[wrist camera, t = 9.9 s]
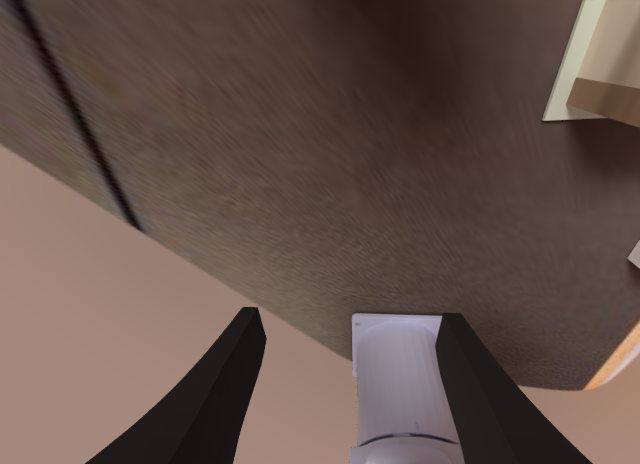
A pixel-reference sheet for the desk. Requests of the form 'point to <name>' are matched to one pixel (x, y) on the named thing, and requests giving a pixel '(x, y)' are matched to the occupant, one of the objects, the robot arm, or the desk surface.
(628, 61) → the ash block
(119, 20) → the desk surface
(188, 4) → the desk surface
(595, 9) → the corner arena
